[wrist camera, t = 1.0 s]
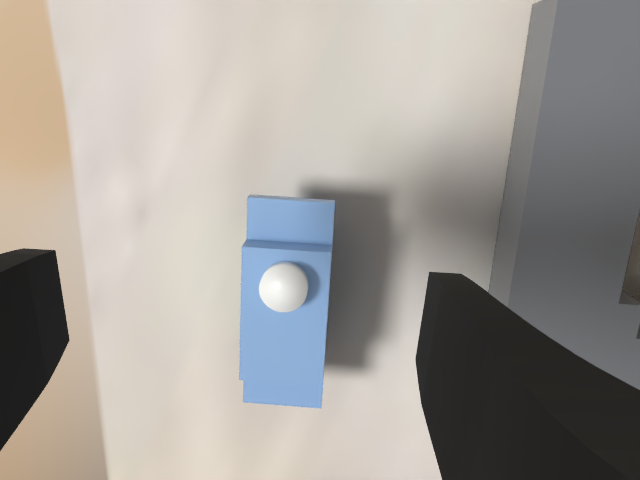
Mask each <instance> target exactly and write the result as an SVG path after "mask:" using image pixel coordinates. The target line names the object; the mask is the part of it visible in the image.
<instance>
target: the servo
mask: <svg viewBox="0 0 640 480" xmlns="http://www.w3.org/2000/svg"><path fill="white" fill-rule="evenodd" d="M334 212H335V200H325V199H310V198H295V197H280V196H265V195H249V196H248V198H247V240H246V241H245V243H244V244H243V246H242V265H241V318H240V372H239V380H244V388H243V402H246V403H259V404H271V405H284V406H297V407H310V408H321V406H322V392H323V377H324V363H325V351H326V338H327V324H328V309H329V294H330V279H331V264H332V249H333V234H334Z"/></svg>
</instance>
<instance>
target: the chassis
mask: <svg viewBox="0 0 640 480" xmlns="http://www.w3.org/2000/svg"><path fill="white" fill-rule="evenodd" d="M639 211H640V0H542V1H540V2H537V3H535V4H533V5H532V11H531V18H530V24H529V31H528V37H527V44H526V51H525V57H524V64H523V70H522V77H521V83H520V90H519V96H518V103H517V109H516V116H515V123H514V129H513V136H512V142H511V149H510V155H509V162H508V168H507V175H506V181H505V188H504V195H503V201H502V208H501V214H500V221H499V227H498V234H497V240H496V247H495V253H494V260H493V267H492V273H491V280H490V286H489V294H491V295H492V296H493V297H495V298H496V299H497V300H498V301H500V302H501V303H502V304H504V305H505V306H506V307H508V308H509V309H510V310H512V311H513V312H514V313H516V314H517V315H519V316H520V317H521V318H523V319H524V320H525V321H527V322H528V323H530V324H531V325H532V326H534V327H535V328H537V329H538V330H540V331H541V332H542V333H544V334H545V335H547V336H548V337H550V338H551V339H553V340H554V341H556V342H558V343H559V344H561V345H562V346H564V347H565V348H567V349H568V350H570V351H571V352H573V353H574V354H576V355H578V356H579V357H581V358H583V359H584V360H586V361H588V362H589V363H591V364H593V365H595V366H596V367H598V368H600V369H602V370H604V371H605V372H607V373H609V374H611V375H613V376H615V377H616V378H618V379H620V380H622V381H624V382H626V383H627V384H629V385H631V386H633V387H635V388H637V389H639V390H640V302H638V301H637V300H636V299H634V298H633V297H632V296H630V295H629V294H627V293H626V292H625V291H623V290H622V287H623V282H624V278H625V273H626V269H627V264H628V260H629V255H630V251H631V246H632V242H633V237H634V233H635V229H636V224H637V220H638V215H639Z"/></svg>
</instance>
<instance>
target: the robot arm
mask: <svg viewBox="0 0 640 480" xmlns="http://www.w3.org/2000/svg"><path fill="white" fill-rule="evenodd" d="M68 342H69V334H68V329H67V322H66V315H65V309H64V303H63V296H62V290H61V284H60V277H59V270H58V264H57V258H56V251H55V250H39V249H20V250H14V251H10V252H6V253H3V254H0V451H1V449H2V448H3V446H4V445H5V444H6V442H7V441H8V439H9V438H10V436H11V435H12V434H13V432H14V431H15V430H16V428H17V427H18V425H19V424H20V423H21V421H22V420H23V418H24V417H25V415H26V414H27V413H28V411H29V410H30V408H31V407H32V406H33V404H34V402H35V401H36V400H37V398H38V397H39V395H40V394H41V393H42V391H43V390H44V388H45V386H46V385H47V384H48V382H49V380H50V378H51V376H52V374H53V372H54V371H55V368H56V367H57V365H58V363H59V361H60V359H61V357H62V355H63V352H64V350H65V348H66V346H67V344H68ZM416 367H417V375H418V383H419V390H420V397H421V404H422V408H423V411H424V415H425V419H426V423H427V426H428V430H429V434H430V437H431V441H432V444H433V448H434V452H435V455H436V459H437V462H438V466H439V469H440V473H441V476H442V480H640V390H639V389H637V388H635V387H633V386H631V385H629V384H627V383H626V382H624V381H622V380H620V379H618V378H616V377H615V376H613V375H611V374H609V373H607V372H605V371H604V370H602V369H600V368H598V367H596V366H595V365H593V364H591V363H589V362H588V361H586V360H584V359H583V358H581V357H579V356H578V355H576V354H574V353H573V352H571V351H570V350H568V349H567V348H565V347H564V346H562V345H561V344H559V343H558V342H556V341H554V340H553V339H551V338H550V337H548V336H547V335H545V334H544V333H542V332H541V331H540V330H538V329H537V328H535V327H534V326H532V325H531V324H530V323H528V322H527V321H525V320H524V319H523V318H521V317H520V316H519V315H517V314H516V313H514V312H513V311H512V310H510V309H509V308H508V307H506V306H505V305H504V304H502V303H501V302H500V301H498V300H497V299H496V298H495V297H493V296H492V295H491V294H489V293H488V292H487V291H485V290H484V289H483V288H481V287H480V286H479V285H477V284H476V283H474V282H473V281H472V280H470V279H469V278H467V277H465V276H464V275H462V274H455V273H438V272H429V277H428V283H427V290H426V296H425V303H424V309H423V315H422V322H421V328H420V335H419V341H418V347H417V354H416Z"/></svg>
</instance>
